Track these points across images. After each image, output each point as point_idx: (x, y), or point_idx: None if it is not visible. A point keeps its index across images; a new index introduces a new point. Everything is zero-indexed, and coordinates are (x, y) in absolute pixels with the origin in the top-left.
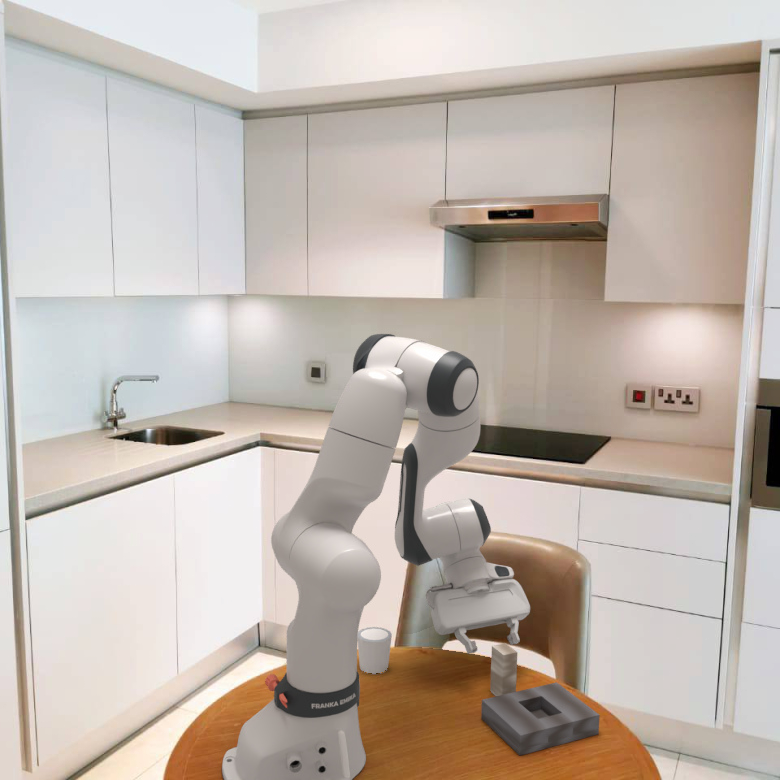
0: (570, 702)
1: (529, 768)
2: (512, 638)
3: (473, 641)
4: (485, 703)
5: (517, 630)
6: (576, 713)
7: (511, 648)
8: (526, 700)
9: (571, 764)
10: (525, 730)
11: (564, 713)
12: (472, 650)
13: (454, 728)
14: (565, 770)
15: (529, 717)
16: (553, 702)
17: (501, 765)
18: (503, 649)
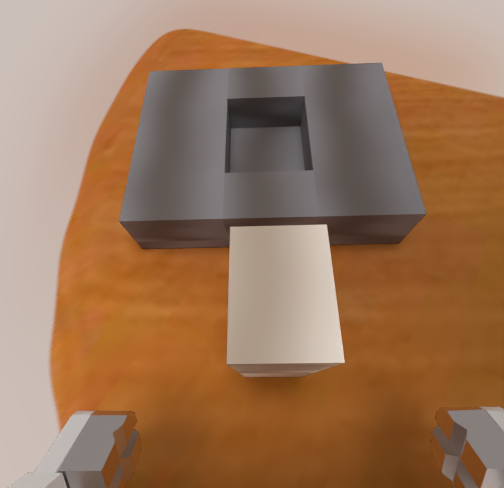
0: (171, 125)
1: None
2: (117, 437)
3: (498, 463)
4: (419, 195)
5: (14, 483)
6: (196, 87)
7: (234, 279)
8: (280, 173)
9: (281, 66)
10: (360, 72)
11: (224, 95)
12: (481, 408)
13: (490, 228)
14: (302, 58)
15: (322, 105)
16: (215, 138)
17: (416, 95)
18: (291, 284)
